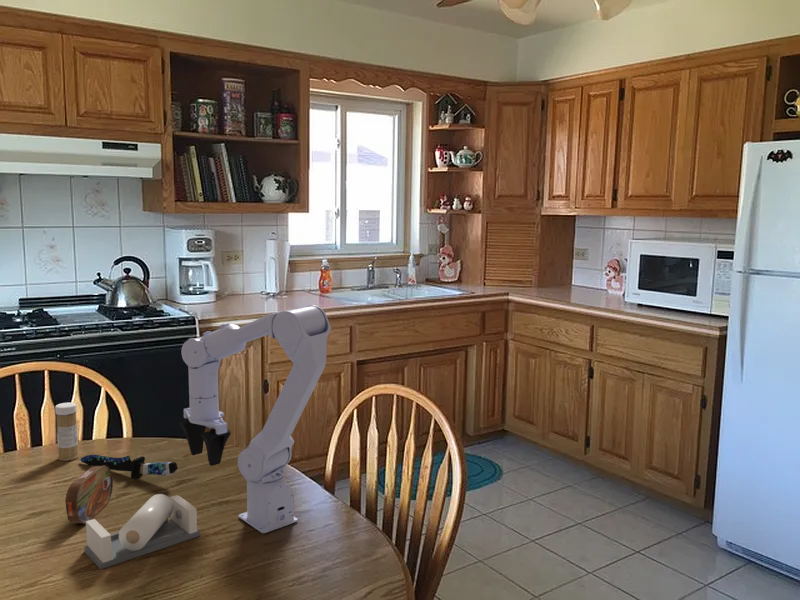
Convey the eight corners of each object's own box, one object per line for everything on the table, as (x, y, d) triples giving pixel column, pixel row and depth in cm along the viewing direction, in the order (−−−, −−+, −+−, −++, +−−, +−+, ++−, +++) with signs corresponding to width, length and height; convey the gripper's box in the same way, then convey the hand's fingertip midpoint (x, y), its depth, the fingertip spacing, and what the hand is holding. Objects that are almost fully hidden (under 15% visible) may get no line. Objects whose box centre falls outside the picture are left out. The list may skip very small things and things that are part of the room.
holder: (199, 535, 126) (199, 507, 125) (100, 569, 114) (98, 538, 113) (181, 520, 132) (180, 494, 131) (84, 551, 120) (82, 522, 119)
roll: (169, 522, 129) (176, 499, 128) (141, 554, 117) (150, 529, 116) (144, 513, 129) (152, 490, 128) (114, 544, 117) (123, 519, 116)
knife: (180, 480, 148) (178, 460, 148) (170, 484, 146) (168, 464, 145) (91, 467, 163) (89, 449, 163) (80, 471, 161) (78, 453, 160)
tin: (80, 531, 127) (77, 489, 126) (63, 531, 127) (61, 488, 126) (115, 497, 142) (113, 459, 141) (100, 497, 142) (98, 458, 141)
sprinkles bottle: (65, 454, 166) (62, 401, 164) (82, 455, 166) (80, 402, 164) (54, 461, 162) (50, 406, 160) (72, 462, 161) (69, 407, 159)
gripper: (240, 398, 135) (241, 463, 137) (204, 384, 145) (206, 445, 147) (207, 405, 130) (209, 473, 132) (173, 390, 140) (175, 453, 142)
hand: (205, 459), depth 139 cm, fingers open, 7 cm apart
